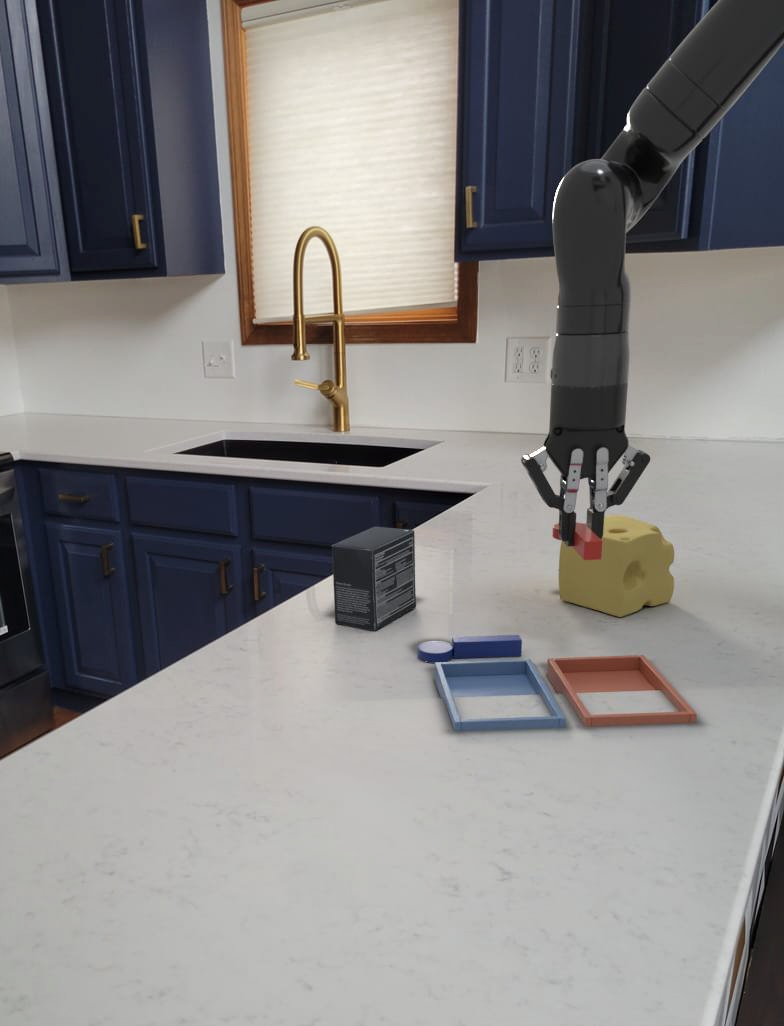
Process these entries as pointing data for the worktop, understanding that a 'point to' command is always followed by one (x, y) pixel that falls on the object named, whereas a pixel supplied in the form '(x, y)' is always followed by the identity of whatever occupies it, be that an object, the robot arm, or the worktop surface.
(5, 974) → the worktop surface
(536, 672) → the blue tray
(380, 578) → the small box
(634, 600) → the cheese
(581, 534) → the red spoon
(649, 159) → the robot arm
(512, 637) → the blue spoon
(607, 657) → the red tray
